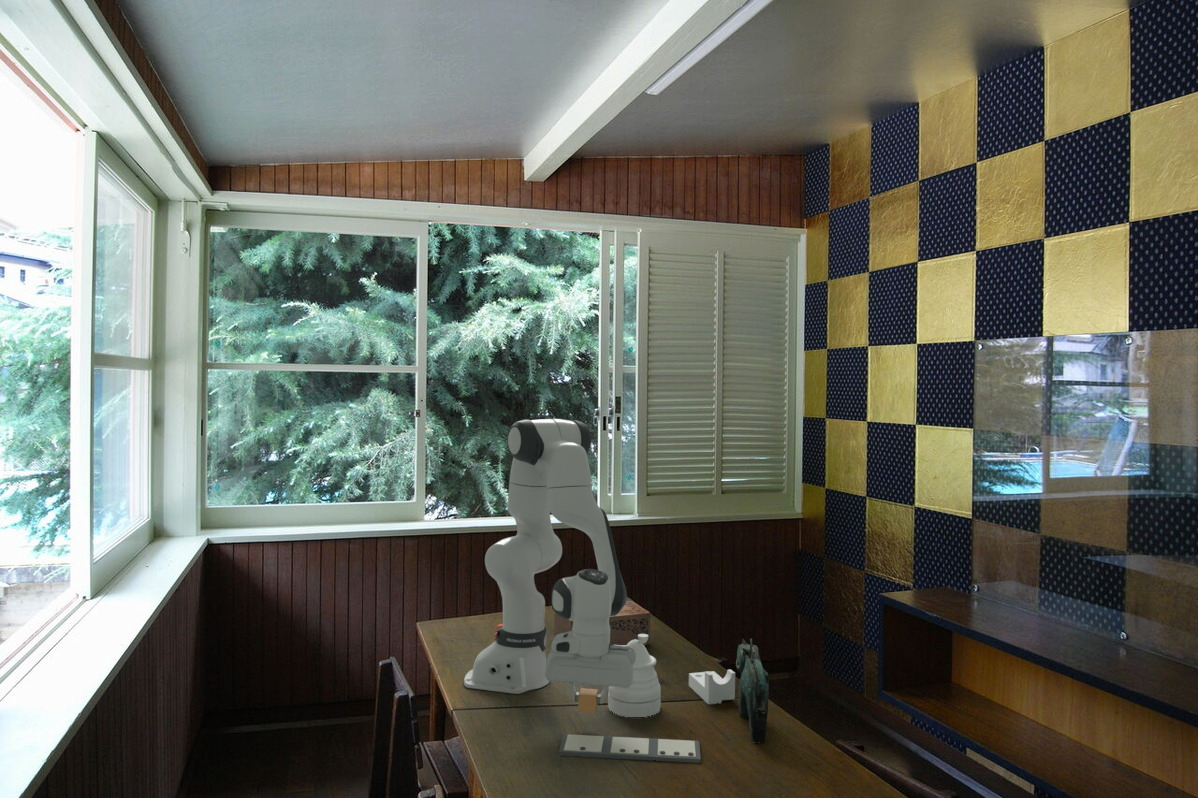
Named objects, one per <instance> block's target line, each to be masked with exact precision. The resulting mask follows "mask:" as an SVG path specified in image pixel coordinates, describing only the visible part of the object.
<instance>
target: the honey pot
mask: <svg viewBox="0 0 1198 798" xmlns="http://www.w3.org/2000/svg"><path fill="white" fill-rule="evenodd" d="M638 639H639V640H636V639H634V640H632V641H630V642H629V643H628V644H627V646H629V647H630V648H632V649H633V650H634V651H635V663H634V664H633V683H632V685H631V686H630V687H629V688H624V687H612V686H609V688H608V691H607V692H608V695H607V696H608V697H607V708H609V709H608V710H609V711H610V712H611V711H612V712H613V713H612V712H611V713H612V714H614V713H615V714H614V715H616V714H617V715H616V716H619V715H620V716H619V717H622V716H625V717H624V718H627V717H645V718H647V717H646V716H650V717H652V716H651V715H653V716H655V715H657V714H658V713H660V712H661V709H660V708H662V707H661V706H662V705H661V704H662V703H661V702H662V700H661V699H662V695H661V694H662V693H661V692H662V691H661V690H662V689H661V688H662V687H661V685H660V683H659V677H658V674H657V671H656V670H655V667H654V666H656V665H657V659H656V657H654V656H653V655H650V654H649V651H648V650H647V648H646V647H645V646H646V645H643V644H642V643H646V642H647V640H648V635H647V634H639V635H638ZM629 650H630V649H629ZM656 713H657V714H656ZM654 714H655V715H654Z"/></svg>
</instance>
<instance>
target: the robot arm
mask: <svg viewBox="0 0 1198 798" xmlns="http://www.w3.org/2000/svg"><path fill="white" fill-rule="evenodd" d="M591 447H592V434H591V431H590V429H589V427H588V425H587V424H586V423H584V422H582V421H580V420H576V419H570V420H569V419H562V418H547V419H546V418H545V419H531V420H530V419H522V420H518V421H516V422H514V423H513V424H512V425H511V426H510V428H509V430H508V433H507V450H508V452H509V454H510V455H511V457H513V458H512V462H511V466H510V467H511V468H510V473H509V481H508V482H509V483H508V484H509V485H508V496H507V497H508V499H507V511H508V513H509V515H510V516H511V518H513V519H514V520H515V523H516V524H515V525H516V529H517V530H516V531H517V532H516V535H514V536H509V537H506V538H502V539H501V540H498V541H497V542H496V543H494V544H492V545H491V546H490V547H489V548H488V549H487V550H486V553H485V555H484V556H485V557H484V565H485V569H486V571H487V573H488V574H489V576H491V578H493V579H494V580H495V582H496V583H497V586H498V588H499V591H500V594H501V599H502V623H500V624H498V625H497V626H496V628H495V631H494V641H493V642H492V643H491V644H489V645H488V646H487V647H486V648H484V649H483V650H481V651H480V652H479V653H478V655H477V656H476V658H475V660H474V664H473V666H472V669H471V670H469V671H468V672H466V674H465V676H464V679H463V685H464V686H465V688H467V689H474V690H475V689H476V690H485V691H492V692H498V693H505V694H507V693H508V694H515V695H517V694H522V693H526V692H528V691H531V690H536V689H540V688H542V687H545V686H547V685H548V684H549V683H550V682H558V683H566V684H567V683H568V689H569V690H570V693H571V694H572V702H576V703H578V696H579V692H580V691H577V689H576V685H577V684H580V685H589V686H590V685H592V686H601V690H602V691H601V693H598V694H597V697H596V700H597V701H596V704H597V705H603V703H604V697H605V695H607V692H608V690H609V686H612V687H624V688H629V687H630V686H631V685H632V683H633V664H634V663H635V651H634V650H633V649H632V648H630V647H629V646H627V645H623V646H621V645H615V644H610V625H609V617H610V616H615V615H617V614H618V613H619V612H620V611H621V609H622V608H623V607H624V605H625V603H626V601H628V600H627V599H628V597H627V596H628V594H627V592H628V591H627V588H626V585H625V582H624V579H623V576H622V574H621V571H620V565H619V561H618V557H617V553H616V552H617V551H616V548H615V547H616V546H615V543H614V542H615V541H614V539H613V534H612V530H611V526H610V522H609V518H608V516H607V513H606V512H605V510H604V509H603V508H602V507H600V506H599V505H598V503H597V501H596V499H595V496H594V493H593V487H592V484H593V483H592V474H591V468H590V463H589V459H588V458H589V457H588V453H589V451H590V450H591ZM551 515H552V516H553V517H554V518H555V519H556V520H557V521H558V522H559V523H562V524H564V525H566V526H569V527H572V528H574V529H577V530H579V531H581V532H583V533H585V534H586V535H587V536H588V537H589V538H590V540H591V542H592V547H593V551H594V555H595V560H596V564H597V569H593V568H588V569H586V568H585V569H582V570H580V571H578V572H577V573H576V575H573V576H567V577H563V578H559V579H558V580H557V581H556V582H555V583H554V585H553V587H552V590H551V592H550V593H551V594H550V604H551V609H552V611H554V613H555V612H556V613H557V614H558V615H559V616H560V617H562V618H564V619H571V620H572V621H573V627H572V631H570V632H565V633H561V634H558V635H556V636H555V637H553V640H552V641H551V645H550V646H551V649H550V651H549V653H548V656H547V657H546V648H547V643H548V642H547V628H546V626H545V621H546V618H545V617H546V601H545V597H544V595H543V593H541V592H539V591H538V590H537V586H536V584H535V574H536V575H537V574H538V573H541V572H545V571H547V570H550V569H551V568H552V567H553V566H554V565H556V564H557V563H558V562H559V561H560V560H561V557H562V555H563V546H562V542H561V539H560V538H559V537H558V536H557V534H555V532H554V529H553V525H552V520H551ZM629 649H630V650H629Z"/></svg>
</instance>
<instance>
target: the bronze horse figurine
mask: <svg viewBox="0 0 1198 798" xmlns="http://www.w3.org/2000/svg"><path fill="white" fill-rule="evenodd" d="M741 639H742V641H741V644H738V647H737V652H736V654H737V655H736V661H735V668H736V671H737V673H738V672H739V674H740V679H739V686H738V713H739V715H740V717H741V716H742V718H747V717H749V718H748V721H749V722H748V726H749V729H748V730H749V736H750V737H749V738H750V741H752V742H755V743H754V744H756V743H759V742H760V743H759V744H761V743H765V744H766V734H767V728H768V727H767V726H768V714H769V713H768V712H769V693H770V688H769V687H770V685H769V673H768V672H767V671H766V669H764V666H763V664H762V661H761V658H760V652H759V648H758V646H757V645H755V644H753V638H752V637H751V638H749V642H750V643H749V644H748V643H747V642H746V640H745V639H744V638H741ZM752 742H751V743H752Z"/></svg>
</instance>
